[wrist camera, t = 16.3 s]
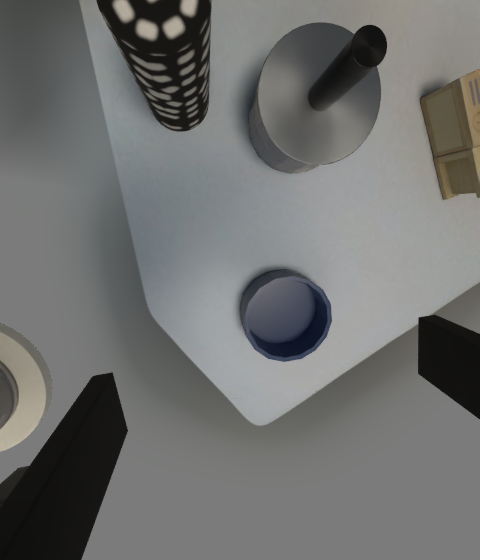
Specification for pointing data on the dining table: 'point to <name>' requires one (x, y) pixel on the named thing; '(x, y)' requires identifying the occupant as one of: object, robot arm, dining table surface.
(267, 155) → the pot
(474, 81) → the toy kitchen set
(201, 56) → the white-spotted black cylinder
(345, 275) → the dining table surface
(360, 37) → the lid
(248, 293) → the pan
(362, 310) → the dining table surface
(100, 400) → the robot arm
